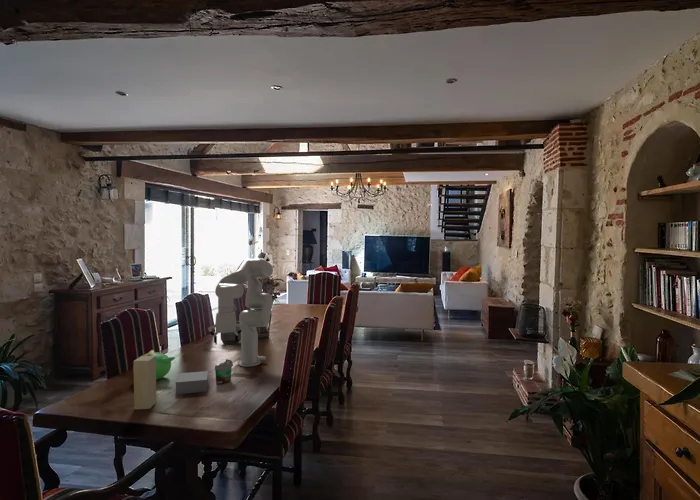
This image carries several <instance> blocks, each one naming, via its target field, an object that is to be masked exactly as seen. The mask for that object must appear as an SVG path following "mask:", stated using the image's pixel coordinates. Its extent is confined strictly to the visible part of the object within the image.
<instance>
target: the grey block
mask: <svg viewBox="0 0 700 500" xmlns="http://www.w3.org/2000/svg"><path fill="white" fill-rule="evenodd" d="M208 387H209V371H208V370H205V371H194V372H193V371H191V372H180V373H179V372H178V375H177V377H176V380H175V395H181V394H194V393H202V392H203V393H205V392H208V389H209V388H208Z"/></svg>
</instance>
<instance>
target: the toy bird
mask: <svg viewBox="0 0 700 500" xmlns="http://www.w3.org/2000/svg"><path fill="white" fill-rule="evenodd" d="M141 356H156V381H157V380H160V379H162V378H164V377H165V376H166V375H167V374H169V372H170V370H171V368H172V361H174V360H175V359H176V357H175V356H168V354H165V353H162V352H159V351H158V352H156V351H154V349H151V350H150V351H149V352H148V353H145V354H143V355H141ZM132 370H133V372H134V365H133V367H132Z"/></svg>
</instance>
